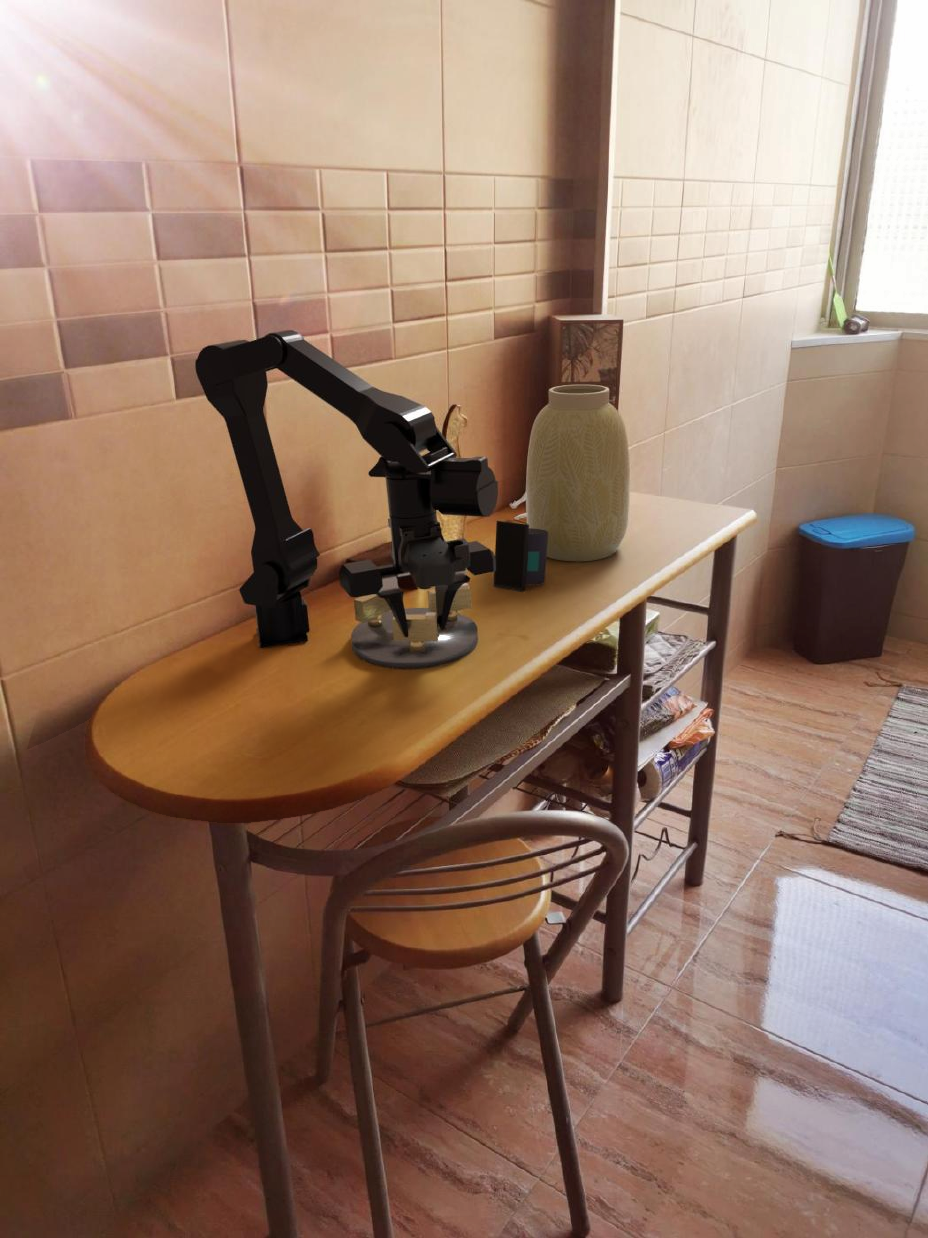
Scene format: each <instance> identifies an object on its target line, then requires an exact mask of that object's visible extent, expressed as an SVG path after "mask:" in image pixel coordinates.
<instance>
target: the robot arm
mask: <svg viewBox="0 0 928 1238" xmlns="http://www.w3.org/2000/svg"><path fill="white" fill-rule="evenodd" d="M194 367H195V369H194V370H195V374H196V377H197V379H198V381H199V383H200V386H201V388H202V391H203V393H204V396H205V398H206V400H207V401H208V403H210V404H211V406H212V407H214V409H215V410H216V411H217V413H219V414H220V416H221V417H222V418H223V420H224V421H225V426H226V429H227V432H228V436H229V438H230V442H231V446H232V450H233V453H234V457H235V460H236V461H235V462H236V464H237V467H238V471H239V475H240V478H241V481H242V485H243V489H244V492H245V495H246V500H247V503H248V506H249V510H250V515H251V517H252V521H253V525H254V534H253V538H252V544H251V549H250V556H251V563H252V571H253V572H252V574H251V575H250V576H249V577H248V578H247V580H245V581H244V583H243V584H242V585H241V586H240V588H239V593H240V596H241V598H242V601H243V603H244V604H245V605H250V606H254V610H255V611H254V612H255V619H256V626H257V627H256V635H257V639H258V643H259V648H261V649H265V648H267V649H268V648H272V647H279V646H287V645H293V644H299V643H306V642H308V641H309V636H308V633H309V632H310V631H311V630H310V622H309V612H308V605H307V601H306V600H305V598H302V594H301V593H302V592H301V591H302V590H304V589H306V588H308V587H309V586H310V582H311V578H312V577H313V576H314V574H315V572H316V570H317V569H318V558H319V557H320V556H321V554H320V552H319V551H318V549H317V547H316V544H315V537H314V531H313V530H312V528H310V527H308V528H305V529H303V528H302V527H301V526H300V525H299V524H298V523H297V522H296V521H295V520H294V518H293V516H292V513H291V510H290V505H289V502H288V501H289V500H288V498H287V495H286V490H285V488H284V482H283V480H282V476H281V475H282V474H281V472H280V468H279V465H278V461H277V456H276V454H275V450H274V445H273V442H272V438H271V434H270V431H269V427H268V423H267V419H266V416H265V411H264V410H265V409H264V408H265V403H266V398H267V391H268V386H269V383H268V376H267V372H269V371H272V370H276V369H277V370H278V371H280V372H281V373H283V374H285V375H286V376H287V377H288V378H290V379H292V380H293V381H294V382H296V383H298V384H299V385H300V386H302V387H303V388H305V389H306V390H307V391H309V392H310V393H312V394H313V395H315V396H316V397H318V398H319V399H321V400H322V401H323V402H325V403H326V404H328V405H329V406H331V407H332V408H333V409H335V410H336V411H338V412H340V414H342V415H344V416H345V417H347V418H348V419H349V420H350V421H351V422H352V423H353V424H354V425H355V427H356V428H357V430H358V431H359V433H360V436H361V437H362V439H363V440H364V441H365V443H367V444H368V445H369V446H370V447H371V448H372V449H373V450H374V451H375V452H376V453H377V454H379V456H380V457H379V458H378V461H376V463H375V464H374V466H373V467H372V468H371V469H370V470H369V471H368V477H371V478H385V487H386V496H387V506H388V515H389V516H388V517H389V518H388V519H387V524H388V528H390V537H391V546H392V550H391V551H390V554H391V559H392V560H393V563H392V564H387V565H386V564H385V565H380V566H377V565H376V564H374V562H373V561H372V560H371V559H365V560H359V561H354V562H348V563H343V564H342V565H341V567H340V569H339V571H338V576H339V584H340V587H341V588H342V589H343V590H344V591H345V592H346V593H347V595H348V596H349V597H350V598H355V599H356V598H359V597H362V596H367V595H373V594H376V595H377V596H378V597H379V598H384V599H385V600H386V602H387V604H388V605H389V607H390V609H391V611H392V613H393V615H394V617H395V619H396V621H397V623H398V626H399V628H400V630H401V632H402V634H403V635H404V637H408V624H407V619H406V614H405V609H406V608H405V603H404V594H405V593H404V591H403V589H401V588H400V587H399V584H398V583H399V582H398V580H400V579H405V578H406V579H407V578H412V580H413V582H414V584H415V586H416V588H418V589H420V590H429V589H432V588H433V587H434V589H435V594H436V609H437V614H438V624H439V628H440V629H441V630H444V629H445V627H446V623H447V620H448V616H449V612H450V609H451V605H452V602H453V599H454V597H455V594H456V592H457V590H458V589H459V588H460V587H461V586H462V585H463V584H464V583H467V584H468V583H469V582H470V581H471V577H470V576H469V575H467V571H468V572H469V573H471V574H472V575H473V576H480V575H485V574H490V573H494V571H496V560H495V552H494V551H493V550H491V548H489V547H487V546H486V545H484V544H482V543H481V542H480V541H477V540H474V541H467V539H466V538H459V539H453V540H446V541H445V538H444V536H443V534H442V531H443V530H442V527H441V522H440V521H438V516H437V515H438V513H437V511H438V512H439V513H440V514H441V515H445V516H459V517H460V516H461V517H462V516H463V517H483V518H488V517H491V516H492V514H493V513H494V511H495V509H496V507H497V504H498V503H497V502H498V496H499V483H498V480H496V476H495V473H494V471H493V469H492V468H491V467H489V462H488V461H489V460H488V458H487V456H473V457H458V453H457V452H456V451H455V450H454V447H452V445H451V444H450V443H449V442H448V440H447V439H446V437H445V436H444V435H443V433H442V432H441V431H440V429H439V428H438V427H437V424H436V420H435V416H434V414H433V412H432V411H431V410H430V409H429V408H427V407H426V406H425V405H423V404H420V403H418V402H416V401H414V400H412V399H410V398H407V397H405V396H402V395H400V394H395V393H391V392H388V391H384V390H382V389H379V388H376V387H375V386H373V385H372V384H370V383H368V381H365V380H364V379H363V378H361V377H360V376H358V375H357V374H355V373H354V372H353V371H351V370H350V369H348V368H347V367H346V366H344V365H342V364H341V363H339V362H338V361H336V360H335V359H333V358H332V357H330V356H329V355H328V354H326V353H325V352H323V351H322V350H320V349H319V348H317V347H315V346H314V345H313V344H312V343H310V342H308V341H307V340H306V339H304V336H302V334H300V333H299V332H298V331H295V330H294V329H293V330H292V329H284V330H279V331H273V332H269V333H266V335H264V336H263V337H260V338H256V339H254V340H250V341H249V340H247V339H237V340H236V339H235V340H232V341H231V340H230V341H224V342H220V343H214V344H210V345H207V346H205V347H202V349H201V350H200V351H199V353H198V356H197V359H195V362H194ZM424 451H428V452H427V453H425V454H423V455H421V454H420V453H423V452H424Z"/></svg>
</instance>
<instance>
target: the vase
mask: <svg viewBox="0 0 928 1238" xmlns="http://www.w3.org/2000/svg"><path fill="white" fill-rule="evenodd" d="M621 415H622V414H620V412H619V410H618V409H616V407H615V406H614V405H613V404H611V403H610V388H609V387H606V386H603V385H597V384H566V385H565V384H564V385H559V386H554V387H551V388H549V389H548V403H547V404H546V405H545V406H544V407H543V408H542V409H541V410H540V411H539V413H538V414H537V415H536V416H535V417H536V418H535V419H534V422H533V424H532V428H531V431H530V435H529V443H528V449H527V451H528V452H527V457H526V458H527V460H526V461H527V462H526V475H525V476H526V477H525V478H526V480H525V481H526V482H525V492H526V500H525V510H526V512H525V513H526V516H527V517H526V524H529V528H533V529H541V530H546V531H547V532H548V543H547V557H546V558H550V559H552V560H557V561H564V562H591V561H598V560H601V559H602V560H603V559H605V558H608V557H611V556H612V555H613V554H615V553H616V552H617V550H618V549H619V547H620V545H621V543H622V541H623V540H624V538H625V535H626V533H627V529H628V525H629V517H630V516H629V514H630V500H631V494H630V493H631V476H630V475H631V474H630V473H631V471H630V468H631V467H630V451H629V441H628V436H627V430H626V425H625V422H624V420H623V417H622V416H621Z"/></svg>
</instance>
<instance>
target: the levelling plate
mask: <svg viewBox="0 0 928 1238" xmlns="http://www.w3.org/2000/svg"><path fill="white" fill-rule="evenodd" d="M404 609H405V614H406V615H411V614H426V613H427V612H430V611H429V607H410V608H409V607H408V608H404ZM457 616H458V620H457V621H455V622H447V623H446V627H445V629H444V630H441V629H440V628H439V638H438V641H425V650H424V651H422V652H411V651H410V650H409V641H394V634H393V620H392V619H393V617H394V615H393V613H392V611H389V612H387V613H384V614H382V624H383V625H382V626H381V627H378V628H371V627H368V621H367V622H365V623H363V622H360V623H358V624H357V625H356V626H355V627H354V628H353V629H352V632H351V634H350V635H351V636H350V640H351V649H352V652H353V651H354V652H353V654H354V653H355V654H354V655H355V656H356V657H357V658H358V659H360V660H361V661H363V660H364V661H363V662H365V663H367V664H370V665H374V666H376V665H377V667H380V666H381V668H385V669H392V668H393V670H394V669H395V670H420V669H429V668H437V667H439V666H440V667H441V666H443V665H448V664H451V663H454V662H456V661H459V660H460V658H461V659H462V658H465V657H466V656H468V655H469V654H470V653H472V652H473V651H474V650H475V649H476V647H477V644H478V643H479V635H478V634H479V633H478V632H479V631H478V626H477V624H476V622H475V621H474V620H473V619H471V618H470V617H469V616H467V615H465V614H463V613H460V612H457ZM438 626H439V624H438ZM386 667H387V668H386Z"/></svg>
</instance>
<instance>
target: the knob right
mask: <svg viewBox="0 0 928 1238" xmlns="http://www.w3.org/2000/svg"><path fill="white" fill-rule="evenodd" d="M471 597H472V595H471V587H470V586H469V584H468V583H464V584H463V585H462V586H461V587H460V588H459V589H458V590H457V592H456V594H455V597H454V599H453V602H452V605H451V609H450V612H449V616H448V620H447V622H455V621H457V620H458V616H457V613H458V611H463V610H471V609H472V598H471ZM427 603H428V608H429V611H430V612H436V614H437V609H436V594H435V588H430V589H427Z"/></svg>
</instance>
